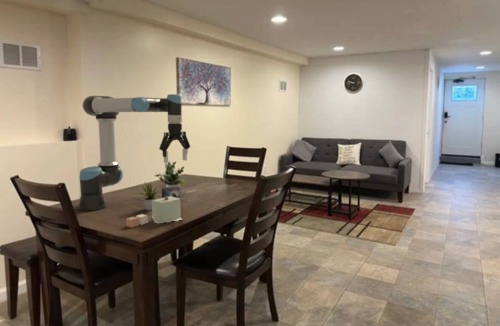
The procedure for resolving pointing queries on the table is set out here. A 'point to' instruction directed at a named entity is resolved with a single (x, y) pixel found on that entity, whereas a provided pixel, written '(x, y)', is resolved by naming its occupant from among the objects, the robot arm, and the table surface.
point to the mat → (168, 221)
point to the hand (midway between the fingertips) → (175, 161)
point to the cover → (166, 208)
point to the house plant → (148, 196)
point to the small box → (171, 192)
